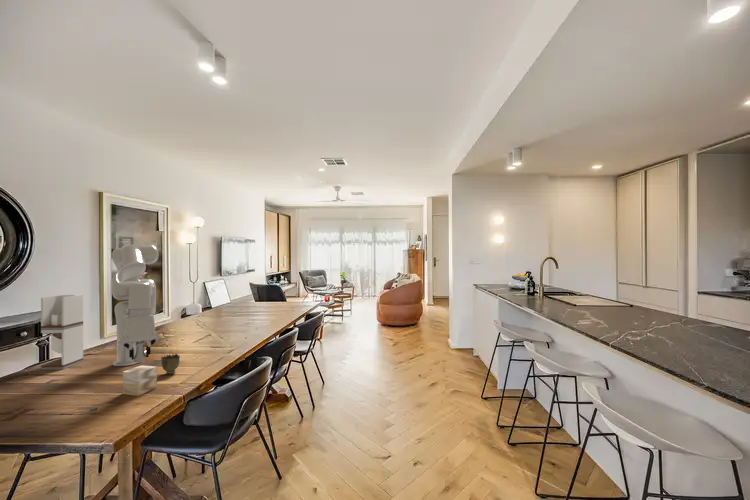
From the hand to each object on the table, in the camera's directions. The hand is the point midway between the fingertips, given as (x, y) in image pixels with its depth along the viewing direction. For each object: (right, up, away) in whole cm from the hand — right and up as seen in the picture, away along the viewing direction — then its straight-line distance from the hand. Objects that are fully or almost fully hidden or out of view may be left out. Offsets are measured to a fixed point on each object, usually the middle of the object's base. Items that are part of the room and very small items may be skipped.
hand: (140, 357), depth 136 cm
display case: (-61, -15, +32) cm, 71 cm away
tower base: (0, -14, 0) cm, 14 cm away
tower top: (0, -9, 0) cm, 9 cm away
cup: (+1, -14, +19) cm, 24 cm away
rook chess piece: (0, -2, 0) cm, 2 cm away
